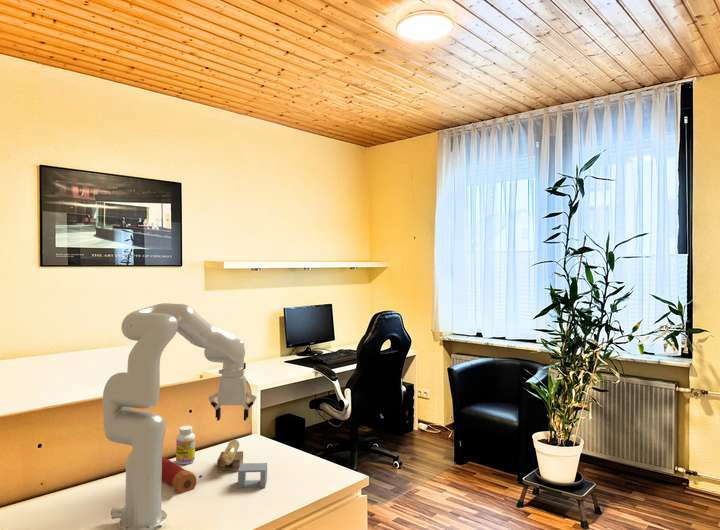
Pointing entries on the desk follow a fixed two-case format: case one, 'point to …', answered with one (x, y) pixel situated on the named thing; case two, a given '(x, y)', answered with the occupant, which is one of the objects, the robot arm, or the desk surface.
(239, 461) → the v block
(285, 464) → the desk surface
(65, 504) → the desk surface
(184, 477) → the shell casing
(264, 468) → the grey hollow block
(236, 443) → the axle
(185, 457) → the supplement bottle
